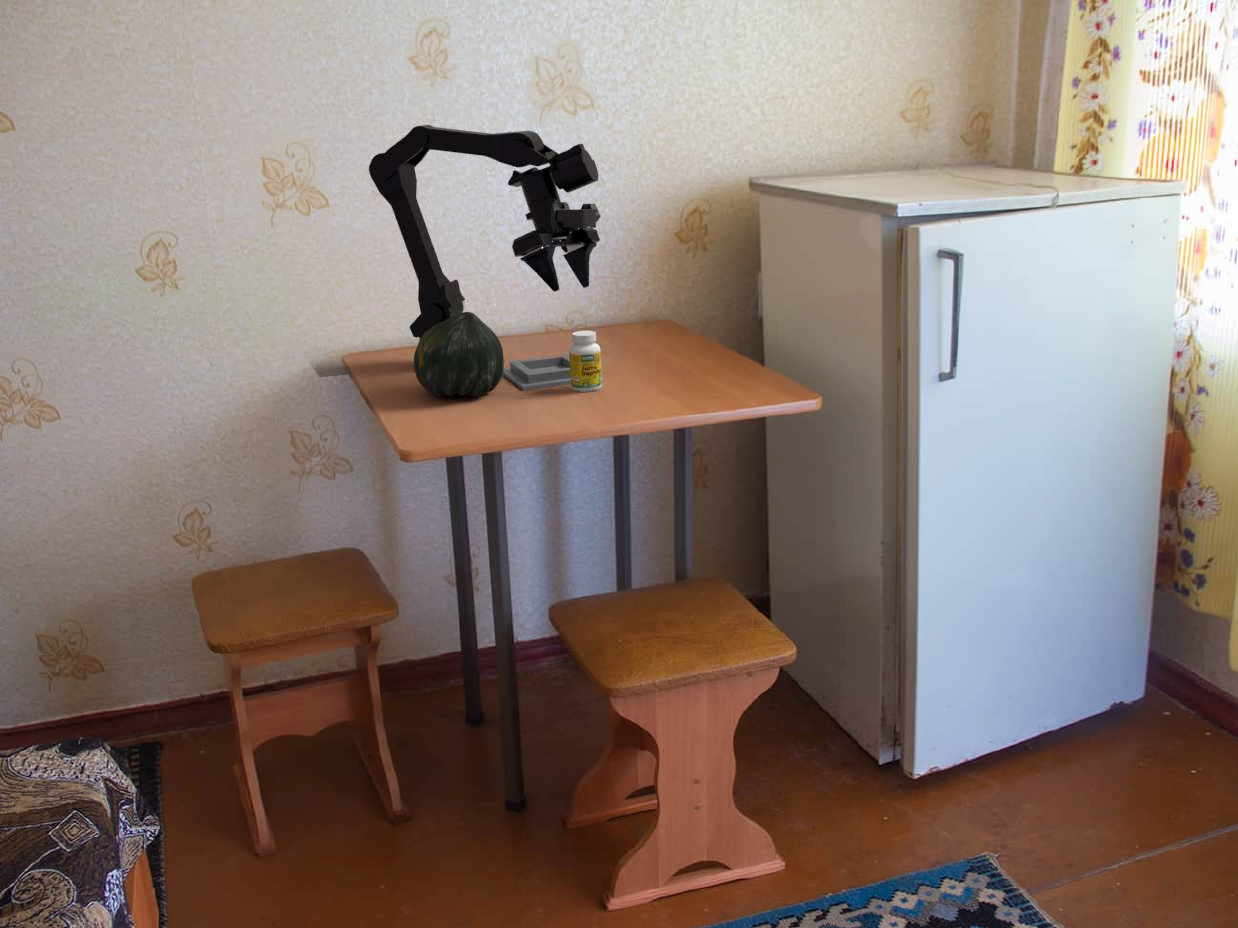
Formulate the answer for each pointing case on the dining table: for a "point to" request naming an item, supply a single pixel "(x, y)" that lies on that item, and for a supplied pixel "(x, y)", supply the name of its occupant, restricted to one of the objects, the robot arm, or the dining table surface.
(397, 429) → the dining table surface
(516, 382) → the tray
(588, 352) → the supplement bottle
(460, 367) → the squash
